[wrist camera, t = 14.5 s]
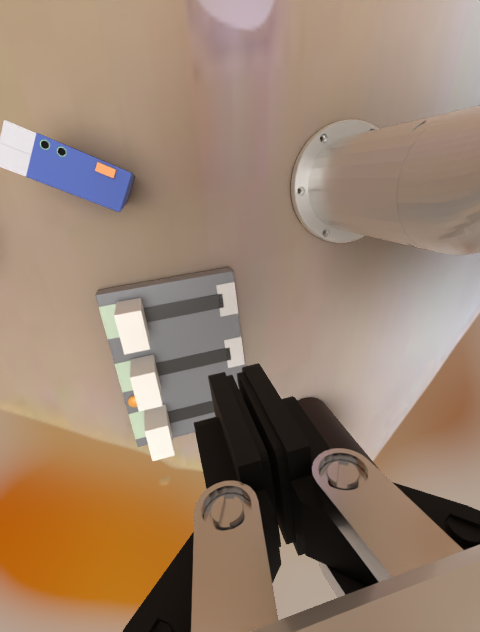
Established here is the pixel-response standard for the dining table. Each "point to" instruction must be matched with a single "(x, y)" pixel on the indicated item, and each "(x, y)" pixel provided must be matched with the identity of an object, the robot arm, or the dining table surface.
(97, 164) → the walkman
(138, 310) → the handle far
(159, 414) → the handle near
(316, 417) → the bottle
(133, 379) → the handle
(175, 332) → the breaker panel
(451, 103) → the dining table surface
